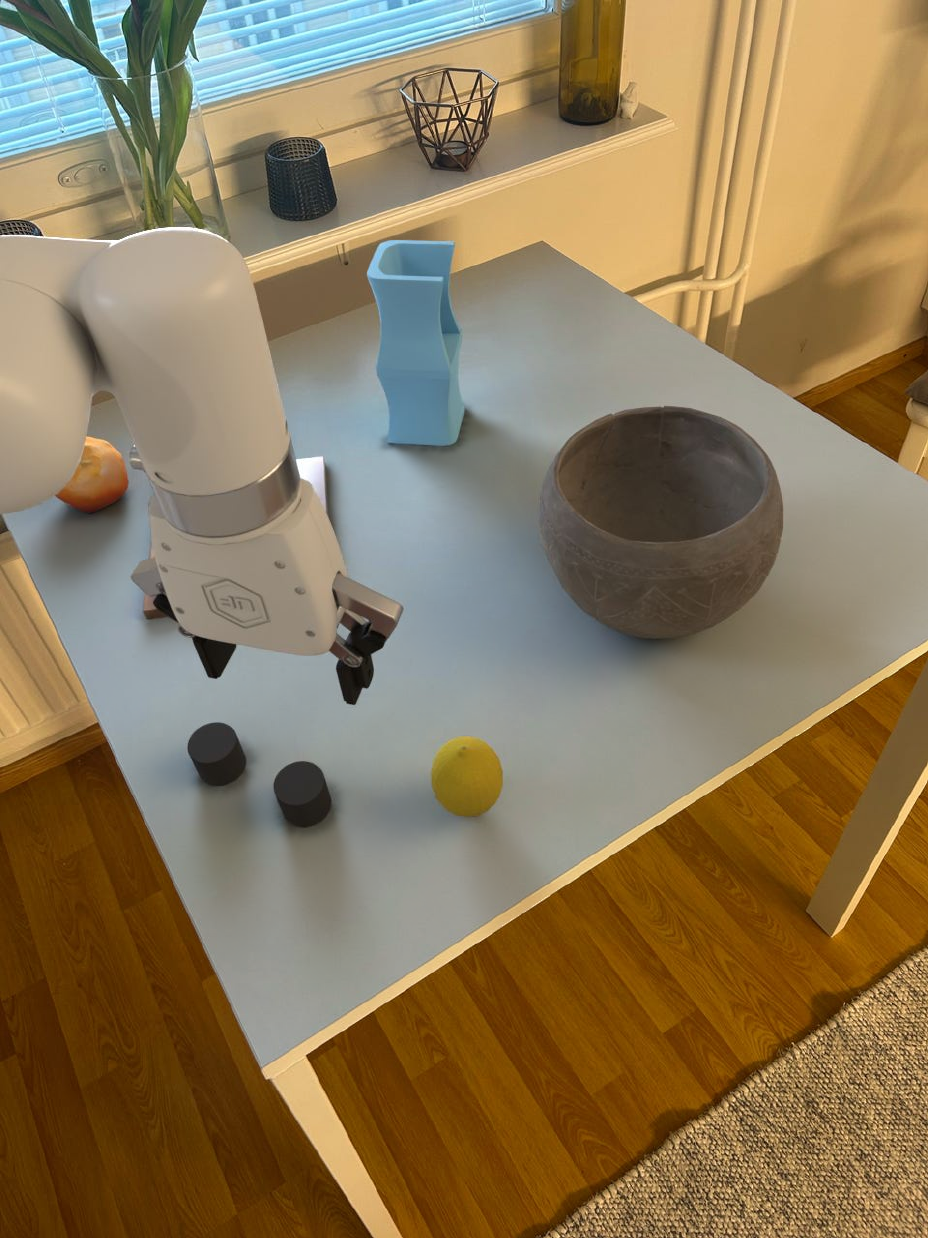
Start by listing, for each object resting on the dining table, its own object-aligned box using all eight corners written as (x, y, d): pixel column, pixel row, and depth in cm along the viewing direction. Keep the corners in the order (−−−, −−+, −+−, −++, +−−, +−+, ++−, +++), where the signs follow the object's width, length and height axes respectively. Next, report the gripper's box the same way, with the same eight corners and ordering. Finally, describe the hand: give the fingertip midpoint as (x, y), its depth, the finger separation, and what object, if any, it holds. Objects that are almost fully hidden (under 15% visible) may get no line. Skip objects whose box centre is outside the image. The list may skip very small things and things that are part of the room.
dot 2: (282, 831, 74) (273, 808, 71) (282, 787, 77) (273, 764, 74) (332, 823, 74) (325, 801, 72) (330, 780, 77) (323, 757, 74)
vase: (455, 446, 105) (442, 281, 89) (387, 442, 106) (363, 278, 91) (466, 404, 110) (456, 240, 95) (401, 401, 111) (380, 238, 96)
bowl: (494, 585, 90) (488, 464, 79) (642, 487, 98) (656, 364, 87) (656, 717, 79) (677, 598, 68) (808, 594, 87) (849, 470, 76)
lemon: (516, 791, 75) (514, 735, 69) (482, 846, 72) (477, 793, 66) (457, 763, 77) (451, 707, 71) (421, 815, 74) (412, 761, 68)
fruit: (103, 447, 106) (98, 413, 98) (142, 503, 105) (139, 474, 98) (36, 479, 102) (25, 447, 95) (75, 537, 102) (67, 510, 95)
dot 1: (197, 789, 77) (185, 766, 74) (199, 749, 80) (188, 725, 77) (245, 782, 77) (235, 759, 75) (246, 742, 80) (237, 718, 77)
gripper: (45, 501, 49) (147, 696, 62) (357, 548, 45) (396, 745, 58) (116, 415, 53) (196, 612, 66) (403, 451, 50) (429, 653, 63)
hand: (289, 674), depth 62 cm, fingers open, 9 cm apart
